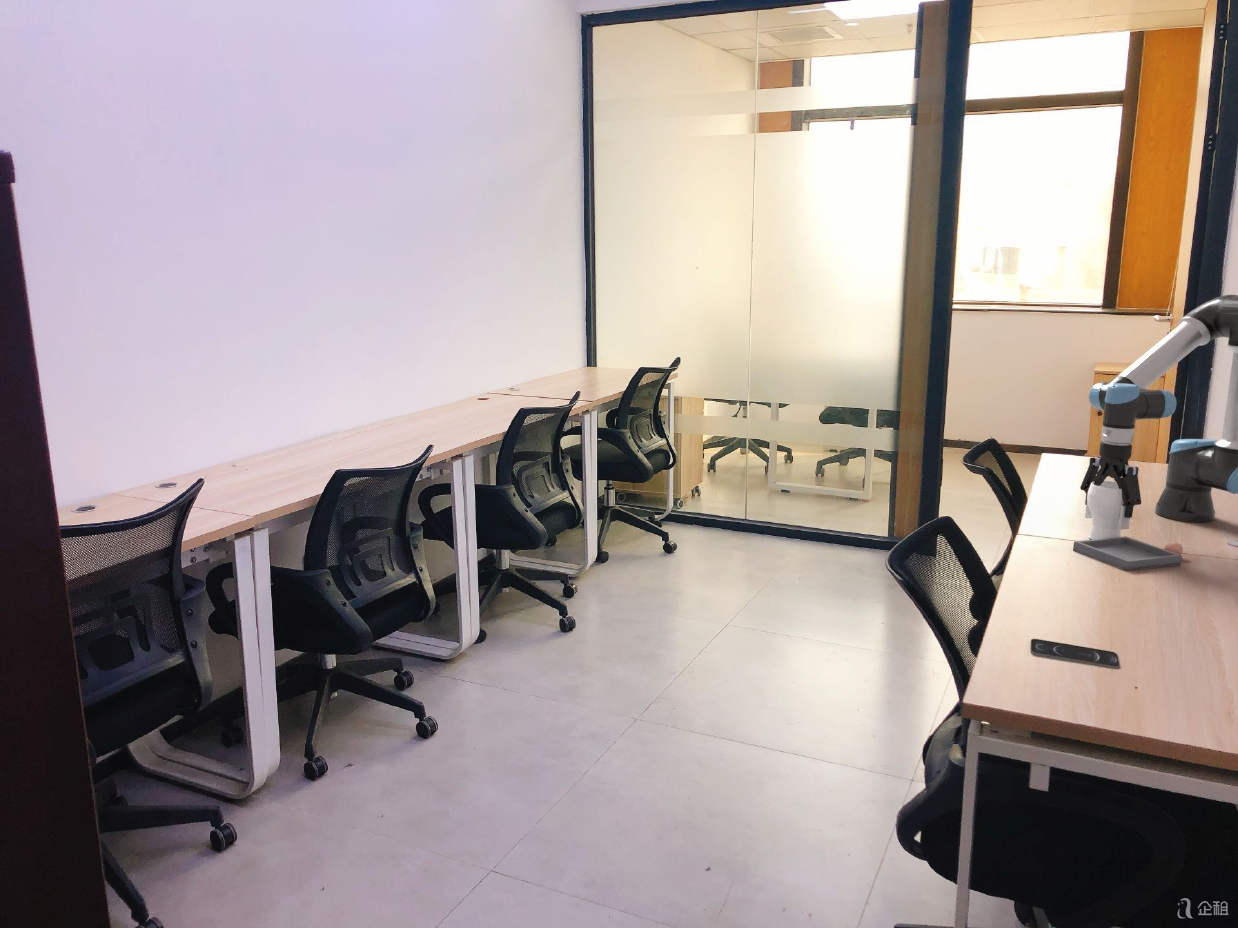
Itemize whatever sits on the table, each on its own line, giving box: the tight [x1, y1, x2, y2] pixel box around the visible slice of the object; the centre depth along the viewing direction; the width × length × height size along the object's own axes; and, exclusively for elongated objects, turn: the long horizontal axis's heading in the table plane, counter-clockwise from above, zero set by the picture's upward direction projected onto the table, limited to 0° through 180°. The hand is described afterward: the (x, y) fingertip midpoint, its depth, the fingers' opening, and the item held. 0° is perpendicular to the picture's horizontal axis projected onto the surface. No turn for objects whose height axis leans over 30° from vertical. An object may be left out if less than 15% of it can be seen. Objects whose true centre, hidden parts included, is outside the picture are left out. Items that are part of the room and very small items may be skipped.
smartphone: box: [1030, 638, 1121, 669], centre depth 175 cm, size 8×1×15 cm
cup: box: [1087, 480, 1129, 540], centre depth 247 cm, size 11×11×15 cm
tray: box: [1072, 535, 1183, 572], centre depth 233 cm, size 17×17×2 cm
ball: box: [1163, 541, 1183, 555], centre depth 234 cm, size 4×4×4 cm
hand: (1106, 523), depth 248 cm, fingers closed on cup, 11 cm apart
